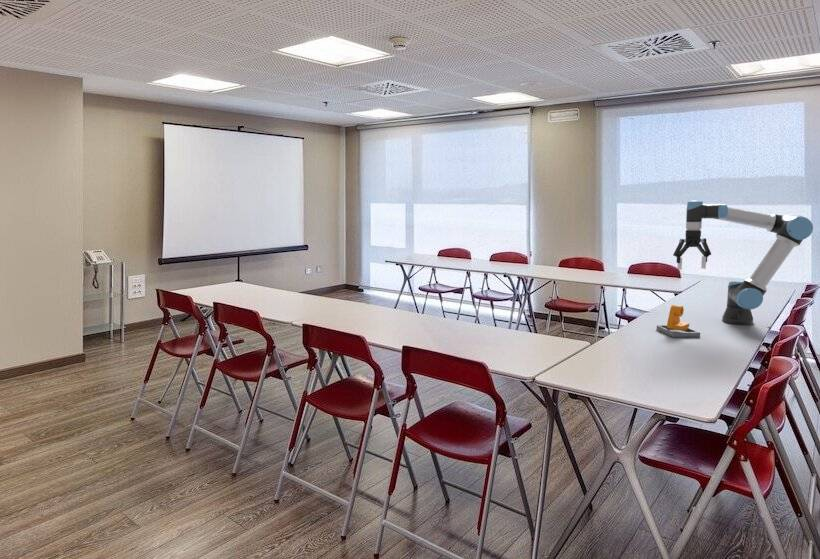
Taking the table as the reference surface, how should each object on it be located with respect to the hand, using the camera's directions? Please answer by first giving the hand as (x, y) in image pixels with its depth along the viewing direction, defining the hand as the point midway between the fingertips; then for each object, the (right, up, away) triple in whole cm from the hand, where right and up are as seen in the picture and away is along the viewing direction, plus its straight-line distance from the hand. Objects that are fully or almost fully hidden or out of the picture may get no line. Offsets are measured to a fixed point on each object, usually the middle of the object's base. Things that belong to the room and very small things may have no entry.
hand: (691, 268), depth 308 cm
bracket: (-15, -31, -16) cm, 38 cm away
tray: (-15, -34, -16) cm, 40 cm away
